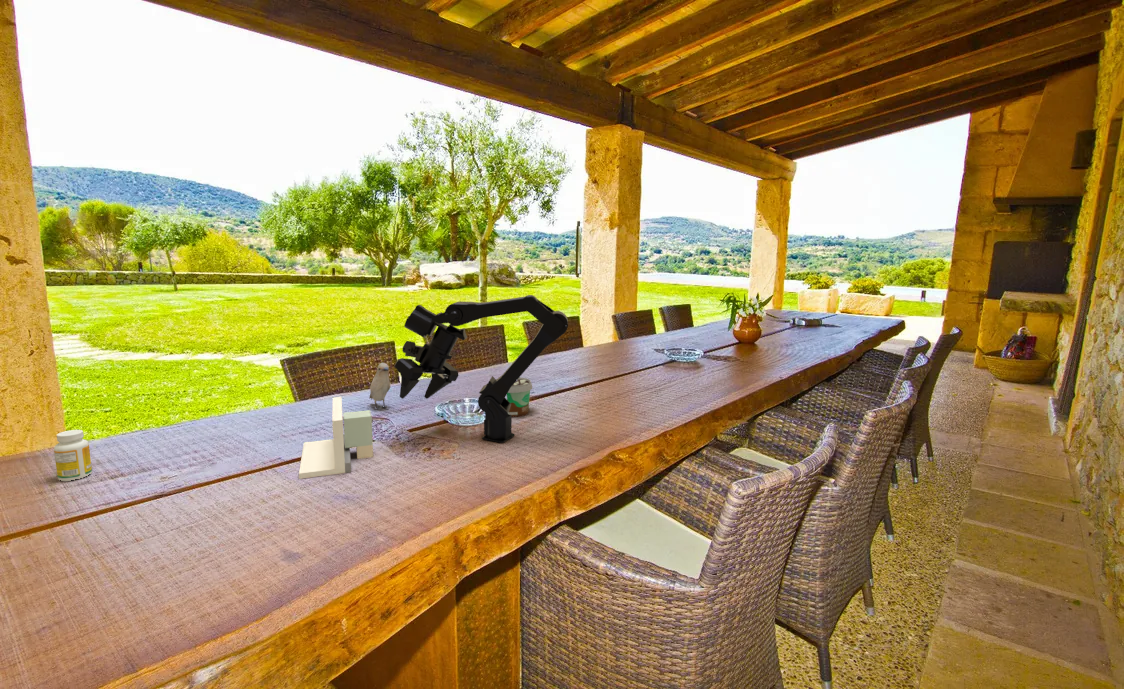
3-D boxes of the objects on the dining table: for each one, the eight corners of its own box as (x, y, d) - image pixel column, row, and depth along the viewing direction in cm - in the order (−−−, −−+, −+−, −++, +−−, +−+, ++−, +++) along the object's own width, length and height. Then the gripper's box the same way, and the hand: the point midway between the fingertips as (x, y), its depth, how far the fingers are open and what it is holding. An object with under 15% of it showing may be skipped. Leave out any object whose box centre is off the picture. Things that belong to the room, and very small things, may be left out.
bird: (381, 415, 155) (379, 365, 152) (364, 405, 165) (362, 358, 162) (397, 412, 158) (396, 363, 155) (379, 402, 168) (378, 356, 165)
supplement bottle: (67, 483, 106) (60, 438, 104) (52, 479, 108) (45, 434, 106) (98, 474, 111) (92, 430, 109) (83, 469, 112) (77, 427, 111)
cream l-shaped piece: (348, 442, 132) (346, 396, 130) (351, 472, 114) (348, 419, 112) (304, 447, 128) (301, 399, 126) (299, 478, 110) (295, 424, 108)
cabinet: (372, 449, 127) (371, 410, 126) (374, 456, 123) (372, 416, 121) (345, 452, 125) (343, 412, 123) (345, 460, 120) (343, 418, 119)
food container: (526, 420, 153) (526, 387, 151) (506, 418, 154) (506, 385, 152) (536, 408, 165) (536, 377, 163) (517, 407, 166) (518, 376, 164)
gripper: (443, 335, 145) (418, 382, 147) (395, 326, 128) (367, 380, 131) (470, 355, 140) (444, 404, 143) (424, 349, 124) (395, 404, 126)
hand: (413, 397), depth 136 cm, fingers open, 9 cm apart
